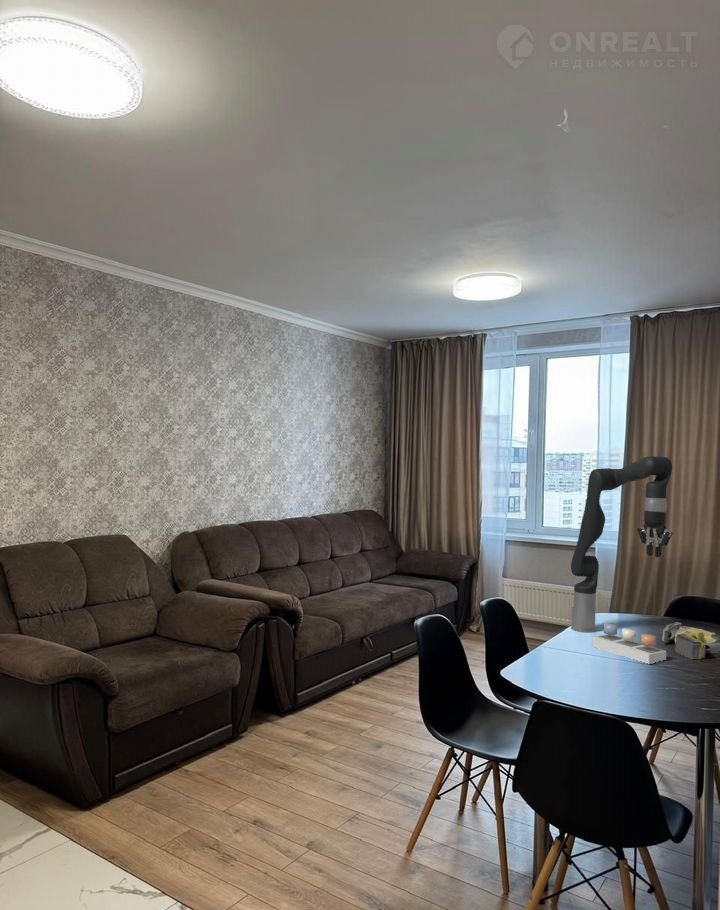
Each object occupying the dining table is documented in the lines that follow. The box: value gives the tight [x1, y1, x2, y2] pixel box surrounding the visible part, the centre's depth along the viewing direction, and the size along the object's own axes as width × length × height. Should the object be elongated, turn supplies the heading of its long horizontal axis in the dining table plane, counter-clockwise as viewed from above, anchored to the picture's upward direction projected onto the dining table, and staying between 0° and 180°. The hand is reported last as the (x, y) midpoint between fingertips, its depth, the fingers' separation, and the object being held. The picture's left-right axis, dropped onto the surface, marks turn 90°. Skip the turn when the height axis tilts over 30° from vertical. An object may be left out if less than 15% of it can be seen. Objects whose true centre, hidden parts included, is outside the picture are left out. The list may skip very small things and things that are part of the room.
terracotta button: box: [640, 633, 657, 648], centre depth 241 cm, size 5×5×4 cm
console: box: [592, 634, 667, 664], centre depth 248 cm, size 25×10×4 cm, turn 30°
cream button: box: [621, 627, 637, 642], centre depth 248 cm, size 5×5×4 cm
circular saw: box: [661, 621, 720, 660], centre depth 256 cm, size 10×30×25 cm
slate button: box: [603, 622, 618, 636], centre depth 256 cm, size 5×5×4 cm
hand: (653, 556), depth 240 cm, fingers closed
